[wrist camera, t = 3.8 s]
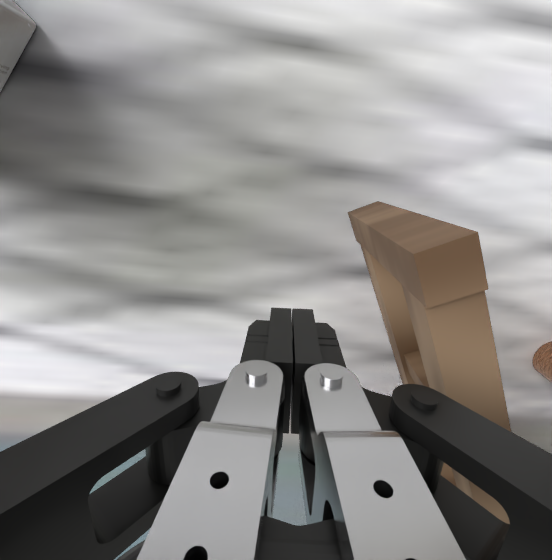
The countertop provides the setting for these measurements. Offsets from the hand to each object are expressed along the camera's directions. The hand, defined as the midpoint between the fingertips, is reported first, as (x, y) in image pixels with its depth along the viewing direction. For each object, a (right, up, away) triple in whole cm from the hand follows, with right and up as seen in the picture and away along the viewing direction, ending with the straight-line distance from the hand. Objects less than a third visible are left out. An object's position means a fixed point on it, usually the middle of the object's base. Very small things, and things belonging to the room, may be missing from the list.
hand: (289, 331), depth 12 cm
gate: (+7, -1, +7) cm, 10 cm away
